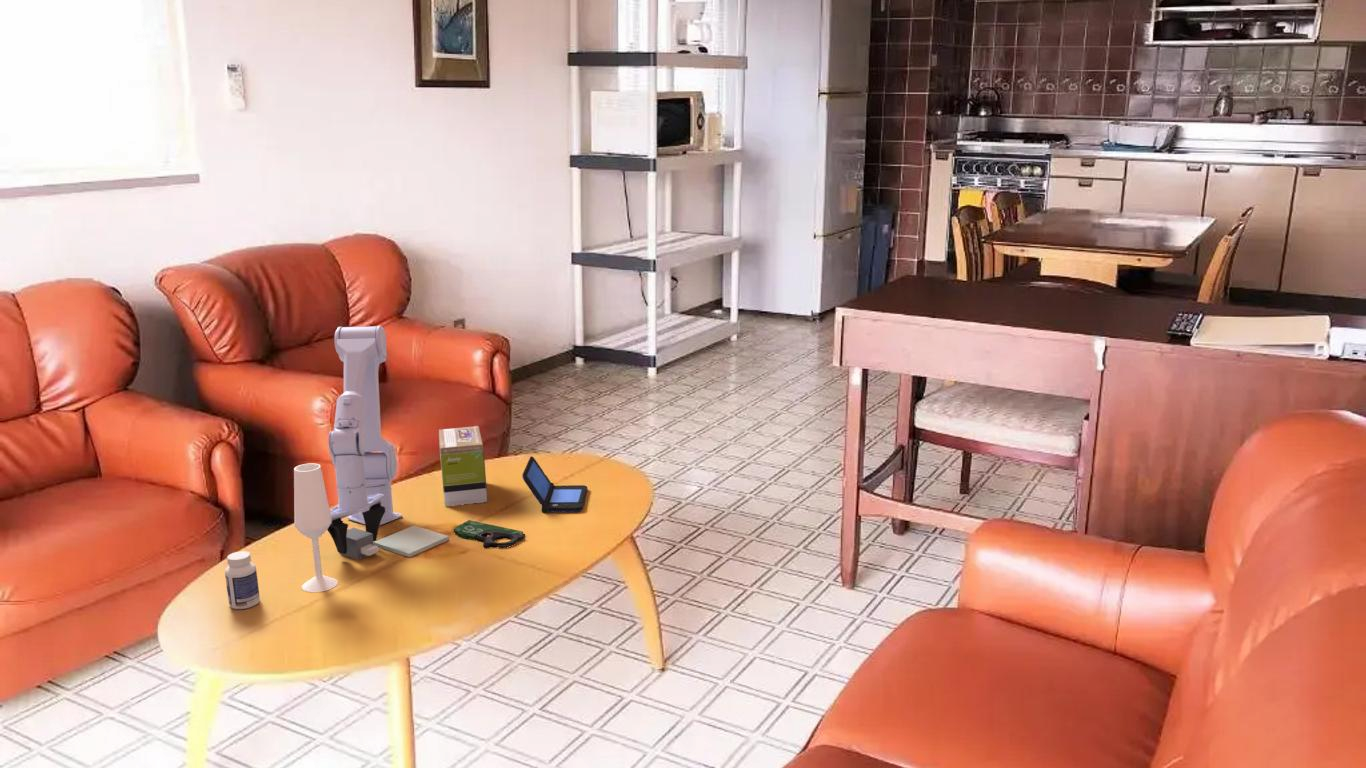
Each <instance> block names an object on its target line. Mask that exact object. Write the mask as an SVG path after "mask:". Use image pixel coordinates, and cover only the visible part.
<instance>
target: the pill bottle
mask: <svg viewBox="0 0 1366 768" xmlns="http://www.w3.org/2000/svg"><path fill="white" fill-rule="evenodd" d="M226 558H227V559H226V561H227V563H226V564H227V565H228V566H227V567H226V568H225V569H224V575H225V577H224V578H225V584H226V593H227V597H228V604H229V605H228V606H229V607H230V608H231V609H234V610H244V609H250V608H252V607H254V606H256V605H258V604H259V602H260V599H261V597H260V589H259V582H258V573H257V572H258V571H257V566H256V565H255V563H253V562H252V557H251V553H250V552H249V551H247V550H246V551H245V550H244V551H243V550H242V551H235V552H232V553H230V554H229V555H227V557H226Z"/></svg>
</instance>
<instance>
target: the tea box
mask: <svg viewBox="0 0 1366 768" xmlns="http://www.w3.org/2000/svg"><path fill="white" fill-rule="evenodd" d="M438 441H439V442H438V443H439V444H438V445H439V456H440V457H439V458H440V469H441V480H442V481H441V482H442V489H443V497H444V498H443V500H444V506H445V507H446V506H448V507H453V506H452V505H459V506H463V505H462V504H468V505H474V504H473V503H478V504H485V503H488V493H487V491H488V489H487V477H486V476H487V475H486V463H485V452H484V451H485V450H484V445H483V443H484V442H483V439H482V435H481V430H480V427H479V425H474V426H464V427H455V428H443V429H440V428H439V429H438ZM484 502H485V503H484Z"/></svg>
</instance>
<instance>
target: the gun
mask: <svg viewBox="0 0 1366 768" xmlns="http://www.w3.org/2000/svg"><path fill="white" fill-rule="evenodd" d="M453 533H454V535H455V536H457V537H459V538H461V539H465V540H472V541H476V540H477V541H476V542H481V543H482V546H483V547H484V548H483V549H491V548H490V547H493V548H497V547H499V548H498V549H507V547H509V546H510V547H513V546H515V545H517V544H518V543H519V542H522V541H524V540H525V537H526V533H524V532H523V531H522V530H518V529H513V528H508V527H503V526H499V525H495V524H488V523H485V522H479V521H475V520H471V519H468V520H466V521H464V522H463V523H461V524H459V525H456V526H455V527H454V528H453ZM503 538H507V539H506V540H509V541H504V542H497V541H498V540H504V539H503ZM497 539H498V540H497ZM523 539H524V540H523ZM495 540H496V541H495ZM521 540H522V541H521ZM517 542H518V543H517ZM516 543H517V544H516ZM514 544H515V545H514ZM512 545H513V546H512Z"/></svg>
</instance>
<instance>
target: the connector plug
mask: <svg viewBox="0 0 1366 768" xmlns="http://www.w3.org/2000/svg"><path fill="white" fill-rule="evenodd" d="M346 541H347V553H345V554H342V553H339V552H338V553H339V554H340V555H342V556H346V557H349V558H351V559H355V560H356V561H357V560H358V561H359V560H362V559H363V558H366V557H370V556H372V555H374V554H378V552H379V547H377V546H374V541H373V534H372V533H369V532H366V530H362V529H360V528H355V527H352V528H349V529H347V536H346Z"/></svg>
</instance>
